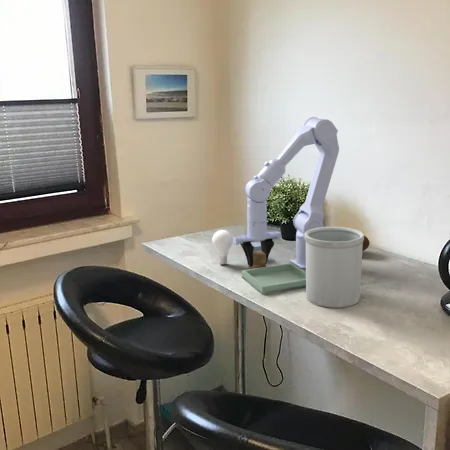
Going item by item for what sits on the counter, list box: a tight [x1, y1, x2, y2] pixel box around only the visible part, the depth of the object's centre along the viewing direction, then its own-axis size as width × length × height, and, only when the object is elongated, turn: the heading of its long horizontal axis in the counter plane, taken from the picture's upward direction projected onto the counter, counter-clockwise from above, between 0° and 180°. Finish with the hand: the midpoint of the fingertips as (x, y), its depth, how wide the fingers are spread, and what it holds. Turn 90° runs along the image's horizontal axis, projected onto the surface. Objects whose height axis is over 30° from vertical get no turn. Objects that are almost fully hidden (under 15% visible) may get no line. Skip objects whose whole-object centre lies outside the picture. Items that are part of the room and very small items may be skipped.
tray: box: [241, 262, 306, 295], centre depth 159 cm, size 16×14×2 cm
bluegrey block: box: [251, 241, 262, 251], centre depth 177 cm, size 4×4×5 cm
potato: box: [362, 234, 371, 252], centre depth 180 cm, size 7×10×8 cm
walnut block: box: [248, 250, 267, 269], centre depth 169 cm, size 4×4×5 cm
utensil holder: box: [305, 226, 365, 309], centre depth 145 cm, size 15×15×18 cm
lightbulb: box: [211, 229, 234, 266], centre depth 173 cm, size 6×6×11 cm
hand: (257, 264), depth 169 cm, fingers closed on walnut block, 4 cm apart
